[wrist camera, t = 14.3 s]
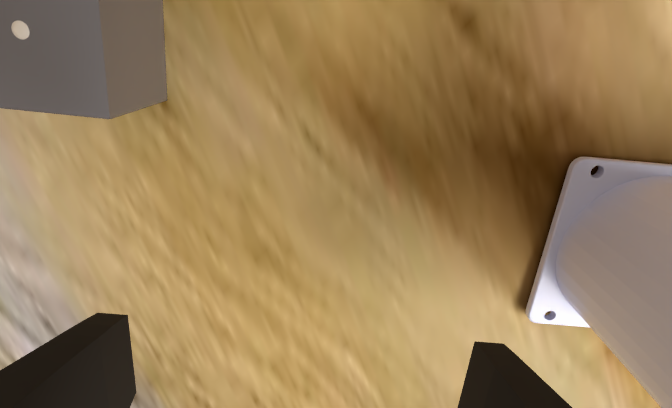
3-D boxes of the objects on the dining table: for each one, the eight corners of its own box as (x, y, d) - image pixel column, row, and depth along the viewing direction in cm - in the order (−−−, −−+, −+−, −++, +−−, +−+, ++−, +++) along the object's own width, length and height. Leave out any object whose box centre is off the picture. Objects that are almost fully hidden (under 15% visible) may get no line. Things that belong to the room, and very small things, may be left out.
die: (162, -30, 15) (90, -60, 11) (168, 99, 17) (108, 119, 12) (32, -45, 15) (-93, -80, 11) (51, 88, 16) (-51, 103, 12)
